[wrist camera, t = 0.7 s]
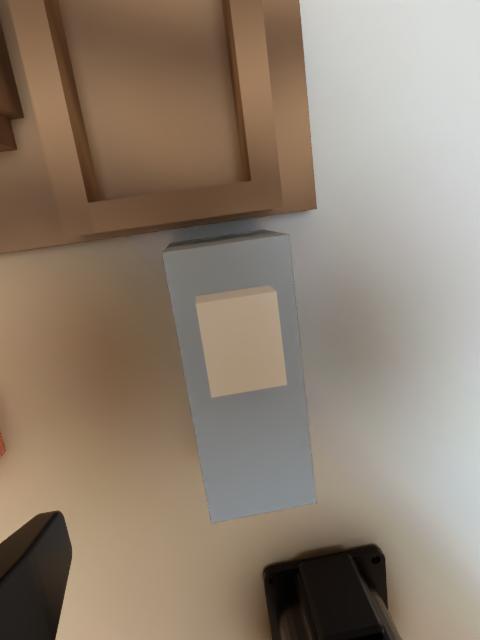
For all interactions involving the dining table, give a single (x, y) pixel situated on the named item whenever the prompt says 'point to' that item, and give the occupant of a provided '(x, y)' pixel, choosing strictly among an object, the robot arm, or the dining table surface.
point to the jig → (149, 117)
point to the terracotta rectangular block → (2, 447)
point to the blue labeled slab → (243, 370)
